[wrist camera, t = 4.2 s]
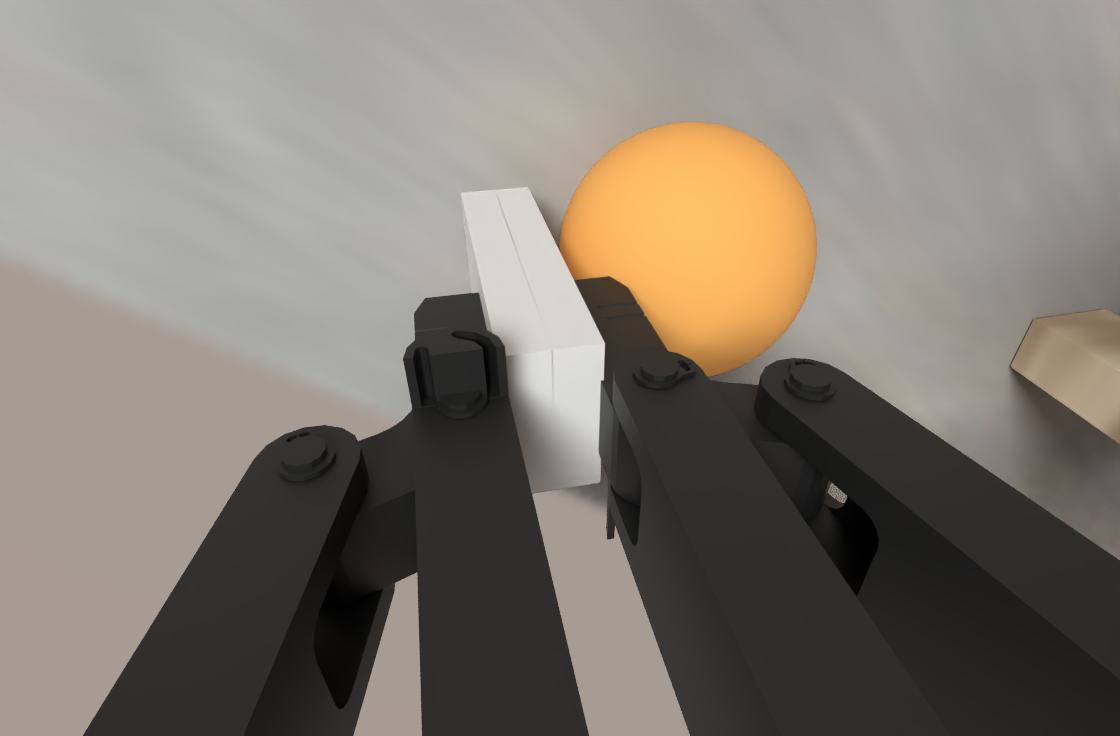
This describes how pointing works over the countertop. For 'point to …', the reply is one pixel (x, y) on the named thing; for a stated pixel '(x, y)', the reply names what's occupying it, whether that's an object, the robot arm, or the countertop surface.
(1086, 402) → the bridge
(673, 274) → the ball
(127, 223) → the countertop surface
